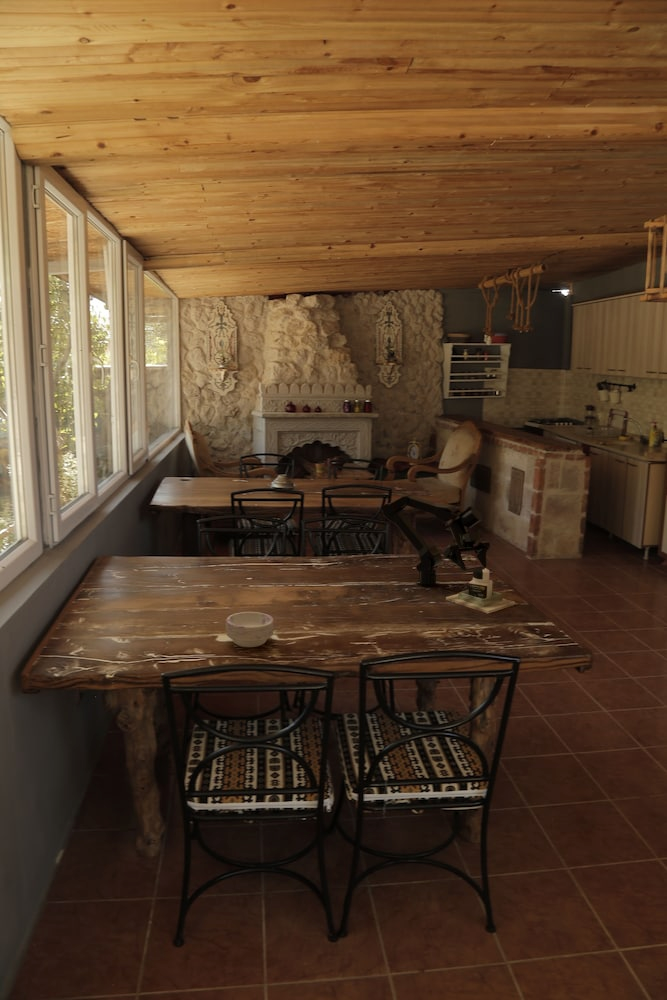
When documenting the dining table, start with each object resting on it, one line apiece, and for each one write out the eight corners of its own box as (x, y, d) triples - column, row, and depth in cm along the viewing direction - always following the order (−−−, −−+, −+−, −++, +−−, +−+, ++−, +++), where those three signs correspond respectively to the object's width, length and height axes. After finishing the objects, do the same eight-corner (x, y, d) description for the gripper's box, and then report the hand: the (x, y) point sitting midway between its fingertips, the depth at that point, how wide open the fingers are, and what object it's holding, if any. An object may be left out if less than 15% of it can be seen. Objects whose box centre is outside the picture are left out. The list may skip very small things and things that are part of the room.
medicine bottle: (467, 600, 285) (469, 569, 282) (473, 595, 291) (475, 565, 289) (486, 603, 281) (488, 572, 279) (491, 598, 288) (493, 567, 285)
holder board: (445, 599, 288) (446, 590, 288) (472, 591, 299) (473, 583, 298) (488, 613, 274) (488, 604, 273) (515, 604, 284) (515, 595, 283)
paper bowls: (283, 641, 245) (283, 618, 243) (248, 655, 233) (248, 630, 232) (251, 630, 255) (251, 607, 253) (216, 642, 243) (215, 618, 242)
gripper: (448, 524, 285) (464, 560, 277) (489, 520, 292) (505, 555, 285) (436, 540, 293) (451, 575, 286) (476, 536, 301) (491, 570, 293)
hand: (475, 569), depth 287 cm, fingers open, 9 cm apart
